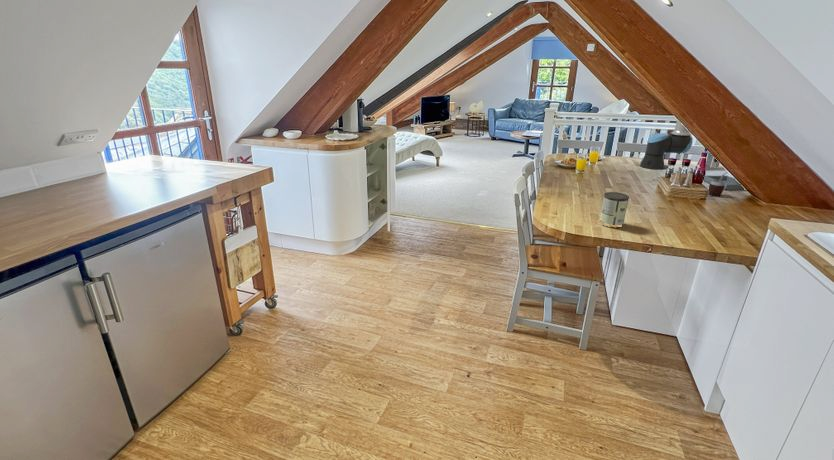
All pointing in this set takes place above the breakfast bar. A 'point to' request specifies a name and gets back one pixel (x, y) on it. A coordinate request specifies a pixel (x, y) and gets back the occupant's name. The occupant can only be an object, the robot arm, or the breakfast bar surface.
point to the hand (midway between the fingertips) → (709, 165)
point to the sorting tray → (725, 182)
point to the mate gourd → (716, 187)
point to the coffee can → (614, 208)
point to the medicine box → (710, 160)
